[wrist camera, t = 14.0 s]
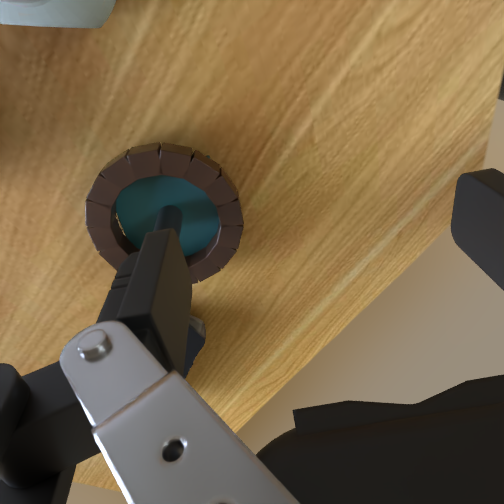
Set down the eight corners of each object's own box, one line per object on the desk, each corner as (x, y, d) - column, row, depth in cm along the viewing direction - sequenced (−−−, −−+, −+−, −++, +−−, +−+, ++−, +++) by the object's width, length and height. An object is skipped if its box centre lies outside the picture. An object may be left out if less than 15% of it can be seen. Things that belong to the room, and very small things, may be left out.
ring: (225, 129, 32) (226, 136, 30) (251, 261, 40) (253, 273, 38) (66, 159, 32) (57, 168, 31) (123, 284, 40) (118, 297, 39)
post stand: (209, 155, 34) (207, 206, 25) (228, 243, 40) (233, 312, 31) (104, 173, 34) (65, 232, 25) (138, 259, 40) (116, 333, 31)
